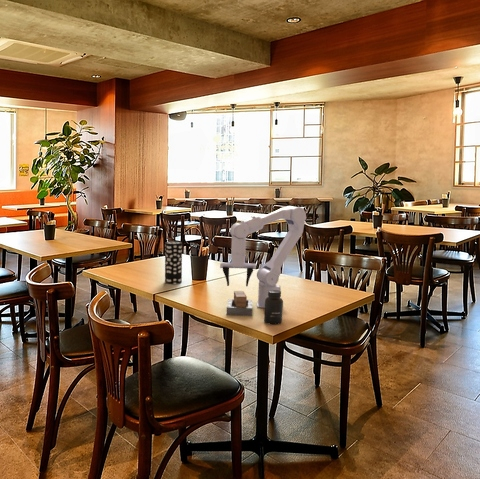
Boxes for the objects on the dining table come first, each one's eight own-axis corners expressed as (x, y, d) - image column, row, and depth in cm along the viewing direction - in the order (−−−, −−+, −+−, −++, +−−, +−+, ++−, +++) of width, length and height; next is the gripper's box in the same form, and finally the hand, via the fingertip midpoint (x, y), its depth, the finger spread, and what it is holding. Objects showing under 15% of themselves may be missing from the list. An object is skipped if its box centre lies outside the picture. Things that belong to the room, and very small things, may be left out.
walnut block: (246, 311, 184) (246, 296, 183) (236, 311, 184) (236, 296, 183) (243, 304, 193) (243, 290, 192) (233, 305, 192) (234, 290, 192)
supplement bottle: (274, 326, 170) (276, 294, 168) (260, 322, 174) (261, 290, 173) (285, 322, 175) (287, 291, 173) (271, 318, 180) (272, 287, 178)
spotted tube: (179, 279, 239) (180, 241, 236) (183, 283, 231) (183, 243, 228) (163, 280, 236) (163, 241, 233) (166, 284, 228) (166, 244, 226)
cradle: (252, 306, 194) (252, 299, 194) (251, 315, 182) (252, 308, 181) (228, 305, 194) (228, 298, 194) (226, 314, 182) (226, 307, 182)
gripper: (256, 251, 193) (254, 283, 195) (221, 250, 193) (220, 282, 195) (256, 254, 186) (255, 287, 188) (220, 253, 186) (219, 286, 188)
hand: (237, 285), depth 191 cm, fingers open, 7 cm apart
